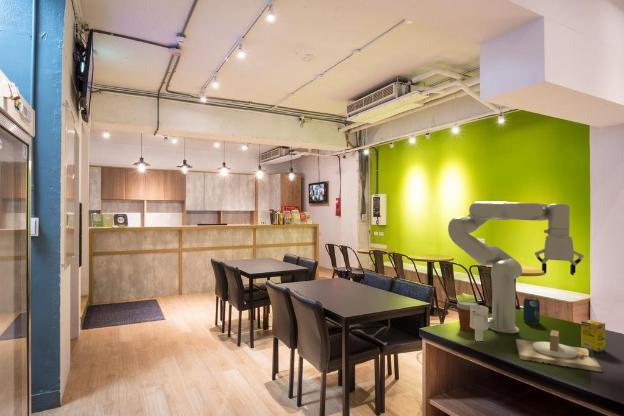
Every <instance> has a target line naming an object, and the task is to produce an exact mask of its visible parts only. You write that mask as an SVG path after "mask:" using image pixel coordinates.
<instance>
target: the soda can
mask: <svg viewBox="0 0 624 416" xmlns="http://www.w3.org/2000/svg"><path fill="white" fill-rule="evenodd" d="M540 303H541V302H540V300H539V298H538V297H533V296H525V297H524V299H523V307H522V308H523V309H522V310H523V311H522V312H523V315H522V316H523V317H522V319H523V321H524V323H527V324H531V325H538V324H539V322H540V320H541V319H540V318H541V317H540V309H541V307H540V306H541V304H540Z"/></svg>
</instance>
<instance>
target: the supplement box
mask: <svg viewBox="0 0 624 416" xmlns="http://www.w3.org/2000/svg"><path fill="white" fill-rule="evenodd" d="M580 348H586V349H587V350H588V348H593V353H595V354H598V353H602V352H605V351H606V323H605V322H601V321H597V320H592V319H588V320H587V319H586V320H581V323H580Z"/></svg>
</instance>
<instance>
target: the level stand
mask: <svg viewBox="0 0 624 416" xmlns="http://www.w3.org/2000/svg"><path fill="white" fill-rule="evenodd" d="M535 342H536V341H533V340H528V339H527V340H526V339H520V338H519V339H518V338H516V339H515V344H516V347H517V352H518V356H519V360H523V361H524V360H525V361H529V360H531V362H535V361H536V363H542V362H544V363H543V364H548V363H550V365H556V366H561V367H567V366H568V367H569V368H575V369H581V370H588V371H594V372H602V366H601V365H600V364H599V363H598V361H597V360H596V359H595V357H594V352H593V348H588V350H587V349H586V348H581V347H578V346H570V345H568V346H569V347H571V348H573V349H575V350H576V351H577V357H575V358H558V357H552V356H548V355H545V354H542V353H539V352H537V351H535V350H534V349H533V343H535ZM579 351H582V357H579ZM537 361H538V362H537Z"/></svg>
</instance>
